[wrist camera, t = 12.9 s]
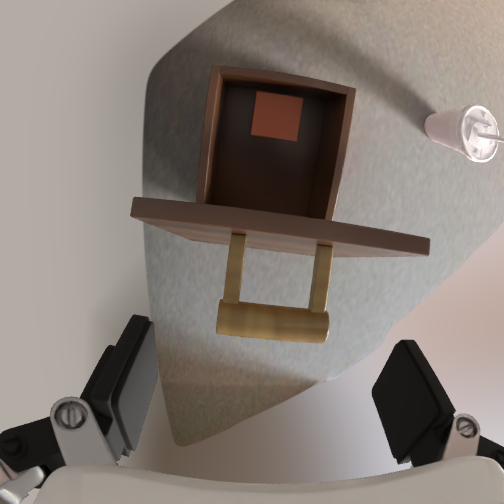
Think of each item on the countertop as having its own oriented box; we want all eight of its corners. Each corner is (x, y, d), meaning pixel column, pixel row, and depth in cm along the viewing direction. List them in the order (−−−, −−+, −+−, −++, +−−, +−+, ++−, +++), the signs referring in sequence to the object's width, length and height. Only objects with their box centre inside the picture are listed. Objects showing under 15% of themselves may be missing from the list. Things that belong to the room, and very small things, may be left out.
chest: (222, 80, 29) (211, 65, 21) (331, 97, 30) (356, 88, 22) (207, 209, 36) (193, 234, 28) (310, 222, 36) (325, 251, 28)
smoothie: (408, 112, 30) (479, 114, 17) (443, 98, 29) (515, 98, 16) (426, 158, 32) (496, 180, 20) (458, 142, 31) (530, 158, 18)
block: (256, 95, 30) (256, 90, 25) (297, 101, 30) (303, 98, 26) (251, 134, 31) (250, 135, 27) (291, 140, 32) (296, 141, 27)
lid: (132, 196, 11) (118, 332, 11) (431, 238, 11) (413, 358, 11) (193, 232, 27) (186, 290, 27) (326, 249, 28) (319, 305, 28)
